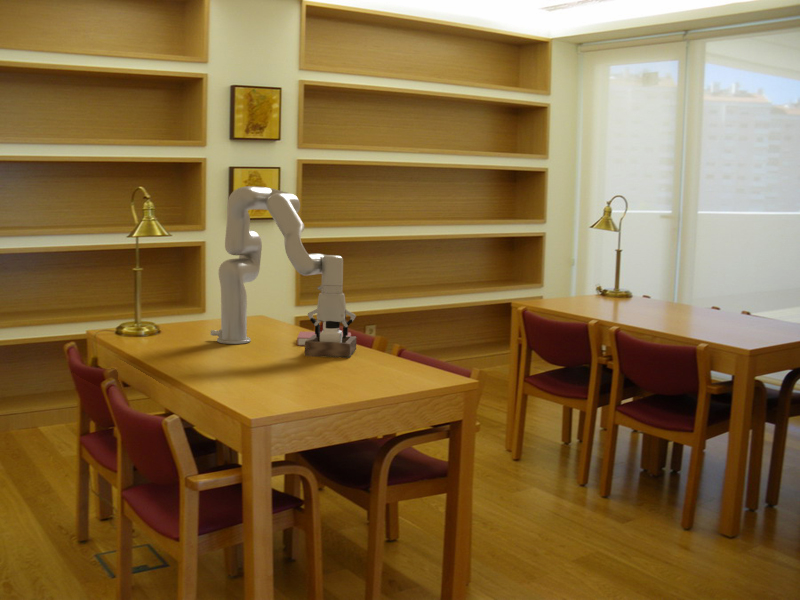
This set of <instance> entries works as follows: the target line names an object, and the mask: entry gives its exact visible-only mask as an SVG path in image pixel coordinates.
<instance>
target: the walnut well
mask: <svg viewBox="0 0 800 600" xmlns="http://www.w3.org/2000/svg"><path fill="white" fill-rule="evenodd" d="M355 350H356V351H357V336H352V335H351V336H346V338H343V336H342V343H340V342H320V336H319V337H316V335H313V336H312V337H310V338H309V339H308V340H307V341H306V342H305V346H304V357H319V358H322V357H323V358H339V357H341V358H342V359H344V358H346V359H350V358H351V357H352V356H353V355H354V353H355V352H356V351H355ZM351 355H352V356H351Z"/></svg>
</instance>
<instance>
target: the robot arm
mask: <svg viewBox="0 0 800 600" xmlns="http://www.w3.org/2000/svg"><path fill="white" fill-rule="evenodd" d="M300 209H301V202H300V199H299V198H298V196H297V195H295V194H294V193H292V192H287V191H283V190H278V189H275V188H271V187H265V186H254V185H253V186H252V185H251V186H248V185H247V186H242V187H238V188H237V189H234V190H233V191H232V192H231V193H230V195H229V197H228V200H227V219H226V225H225V226H226V229H225V240H224V248H225V251H226V253H228V255H231V256H238V257H236V258H230V259H226V260H225V261H223V262H222V263H221V264H220V265H219V268H218V279H219V284H220V295H221V296H220V303H221V304H220V309H221V310H220V311H221V312H220V322H221V323H220V325H221V326H220V328H221V329H218V330H216V329H215V330H213V329H212V330H210V335H211V336H212V337H213V336H217V338H216V342H217V343H220V344H225V345H226V344H227V345H243V344H247V343H250V342H251V338H250V337H249V336H248V335H247V331H248V329H247V325H248V323H247V322H248V321H247V318H248V317H247V312H248V311H247V309H248V307H247V305H248V303H247V302H248V301H247V297H248V296H247V290H246V288H245V285H244V284H245V283H251V282H253V281H255V280H256V279H257V277H258V276H259V274H260V269H261V260H262V259H261V258H262V246H263V245H262V239H261V236H260V235H259V233H258V232H256V231H255V230H252V229H250V226H251V217H250V214H249V210H262V211H263V210H266V211H268V213H269V214H270V215H271V217H272V219H273V221H274V222H275V224H276V226H277V227H278V229H279V231H280V232H281V233H282V236H283V239H284V250H285V254H286V256H287V258H288V260H289V261H290V263H291V265H292V266H293V268H294V269H295V270H296V272H297V273H298V274H300V275H302V276H313V275H314V276H315V275H321V284H320V285H318V286H317V290H319V291H320V293H318V297H317V298H318V299H317V307H316V309H314V310H311V311H310V312H308V313H307V316H308V318H309V320H310V322H311V323H312V324H313V325H314V332H315V334H316V337H319V336H320V332H321V325H320V323H321V322H322V323H323V322H325V321H334V322H340V323H341V324H342V325H343V328H342V332H343V338H346V336H347V335H348V332H349V329H348V328H349V326H350V325H351V324H352V323H353V322H354V320H355V318H356V317H357V315H356V314H355V313H353V312H351V311H350V310H348V309H347V307H346V306H347V304H346V303H347V302H346V297H345V293H344V292H343V284H344V279H343V278H344V258H343V257H342V256H341V255H336V254H335V255H334V254H323V253H318V252H317V253H308V252H307V250H306V249H305V246H304V245H303V243H302V240H301V237H302V236H301V235H302V234H303V232H304V230H305V224H304V223H303V221H302V219H301V217H300V216H299V214H298V213H299V211H300ZM315 314H316V319H315V317H314V315H315ZM347 316H349V317H350V319H349V320H346V319H347Z"/></svg>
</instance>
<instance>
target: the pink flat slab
mask: <svg viewBox="0 0 800 600" xmlns="http://www.w3.org/2000/svg"><path fill="white" fill-rule="evenodd" d="M321 332H322V331H320V333H321ZM313 335H316V334H315V331H299V332H298V335H297V338H296V340H297V341H296V344H297V345H296V346H301V347H302V346H304V347H305V342H306V341H307V340H308V339H309V338H310V337H312V336H313ZM342 336H343V331H342ZM347 336H352V333H351V332H349V331H348V335H347Z"/></svg>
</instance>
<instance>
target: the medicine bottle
mask: <svg viewBox="0 0 800 600" xmlns="http://www.w3.org/2000/svg"><path fill="white" fill-rule="evenodd" d="M340 323H341V322H334V321H325V322H323V321H322V331H320V332H321V333H320V342H340V343H342V332H343V330H341V329H340V327H341V326H340Z"/></svg>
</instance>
